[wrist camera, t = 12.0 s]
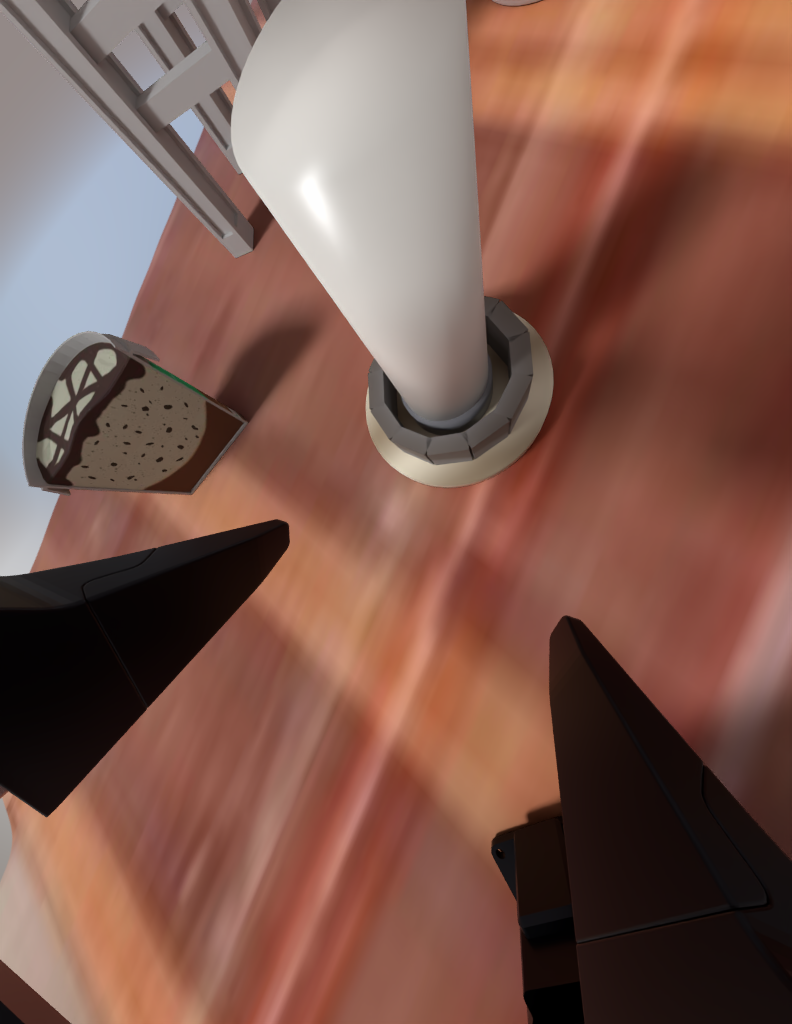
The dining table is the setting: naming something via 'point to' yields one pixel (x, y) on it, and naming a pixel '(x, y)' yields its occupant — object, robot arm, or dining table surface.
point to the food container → (120, 422)
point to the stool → (156, 84)
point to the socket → (495, 436)
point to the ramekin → (515, 2)
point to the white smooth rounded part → (378, 183)
